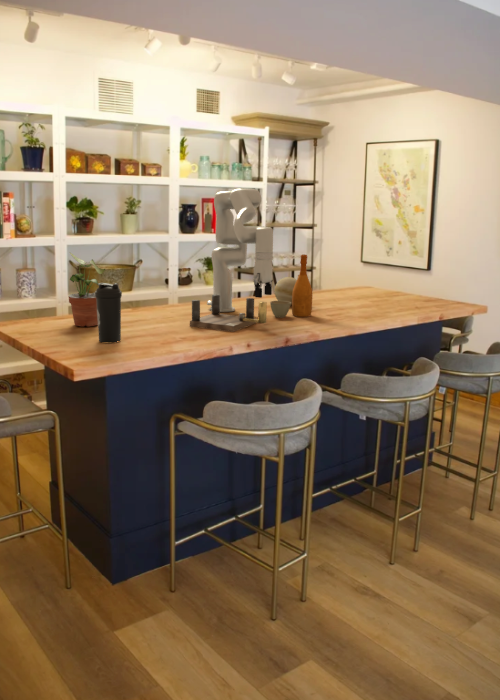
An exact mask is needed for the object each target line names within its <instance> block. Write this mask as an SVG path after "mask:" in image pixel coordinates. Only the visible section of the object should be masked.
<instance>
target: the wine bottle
mask: <svg viewBox="0 0 500 700" xmlns="http://www.w3.org/2000/svg"><path fill="white" fill-rule="evenodd" d="M299 264H300V270H299V274H298V275H297V279H296V280H297V281H296V283H295V286H294V289H293V293H292V305H291V314H292V316H294V317H298V318H309V317H310V316H311V315H312V312H313V311H312V310H313V288H312V285H311V282H310V280H309V277H308V272H307V264H308V254H305V253H304V254H300V261H299Z"/></svg>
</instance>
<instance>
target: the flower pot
mask: <svg viewBox="0 0 500 700" xmlns="http://www.w3.org/2000/svg"><path fill="white" fill-rule="evenodd" d="M291 306H292V305H291V302H288V301H278V300H272V301H270V309H271V312H272V314H273V316H274V317H275V318H286V316H287V315H288V313H289V311H290V308H291Z"/></svg>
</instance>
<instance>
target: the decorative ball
mask: <svg viewBox="0 0 500 700" xmlns="http://www.w3.org/2000/svg"><path fill="white" fill-rule="evenodd" d="M296 281H297V279H296V278H294V277H291V276H286V277H282V278H281V279H279V280H278V281H277V282H276V284H275V287H274V292H273V293H274V296H275V298H276V301H288V302H291V305H290V306H292V293H293V289H294V286H295V283H296Z"/></svg>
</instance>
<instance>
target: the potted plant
mask: <svg viewBox="0 0 500 700" xmlns="http://www.w3.org/2000/svg"><path fill="white" fill-rule="evenodd" d="M69 254H70V255H71V256H72V258H73V259H74V260H75V261H76V262H78V264H79V265H78V267H79V272H81V268H80V267H82V268H83V267H84V268H90V267H91V268H92V265H93V266H94V267H93V268H94V269H95V270H96V272H97V274H99V275H101V274H104V272H105V270H106V268H99V267H98V266H97V264H96V262H95V260H94V259H91V260H90V261H89V262H88V263H89V264H87V262H86V261H85V260H83V259H81V258H79V257H77V256H76V255H74V254H73V253H71V252H69ZM91 268H90V269H89V270H91ZM83 271H84V272H83V273H75V274H72V275H71V276H70V278H69V280H70V281H71V282H72V283H74V282H75V284H76V285H75V286H76V290H77V292H78V293H77V292H76V293H72V294H71V293H70V294H69V295H68V303H69V304H70V307H71V312H72V317H73V318H72V319H73V325H74V326H77V327H83V328H84V327H94V326H98V319H97V302H96V297H95V292H92V293H90V292H89V291H90V289H91V286H92V285H93V284H96V285H97V286H99V285H98V284H99V283H98V280H97V279H95V278H92V279H89V277H90V275H88V277H87V279H86V278H85V275H86V269H84V270H83ZM88 274H90V271H89V273H88ZM79 282H80V284H79V285H80V286H79V287H80V289H79V287H78V284H77V283H79ZM87 286H89V287H88V288H87Z"/></svg>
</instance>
